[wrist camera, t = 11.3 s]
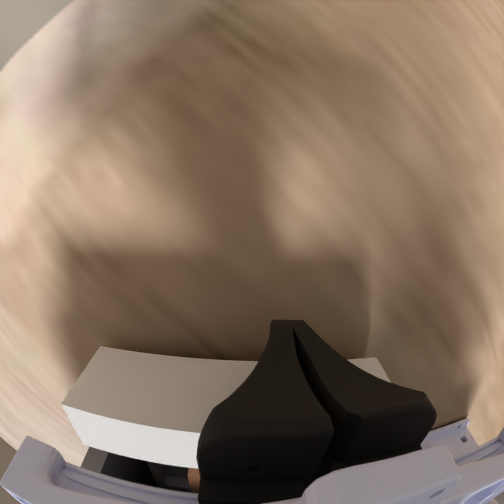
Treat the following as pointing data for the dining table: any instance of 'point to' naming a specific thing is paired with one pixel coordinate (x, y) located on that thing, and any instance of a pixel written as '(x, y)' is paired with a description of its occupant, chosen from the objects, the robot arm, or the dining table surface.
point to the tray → (157, 405)
